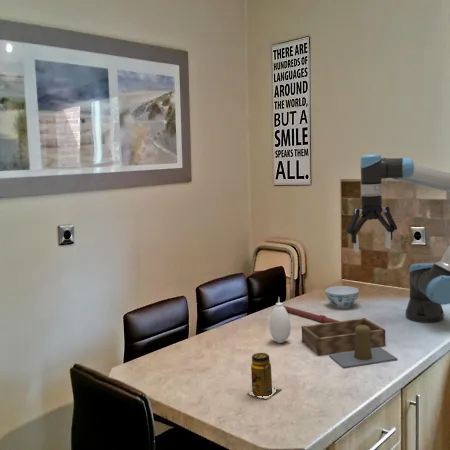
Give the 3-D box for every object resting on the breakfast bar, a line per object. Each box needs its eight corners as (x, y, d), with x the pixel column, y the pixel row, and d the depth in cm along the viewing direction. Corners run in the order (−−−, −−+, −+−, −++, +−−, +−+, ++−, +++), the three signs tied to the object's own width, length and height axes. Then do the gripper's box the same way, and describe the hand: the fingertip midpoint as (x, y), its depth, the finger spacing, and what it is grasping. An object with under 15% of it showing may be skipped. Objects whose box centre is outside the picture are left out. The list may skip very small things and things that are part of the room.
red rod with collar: (356, 330, 215) (356, 323, 215) (351, 332, 213) (351, 325, 213) (279, 308, 251) (278, 302, 250) (274, 310, 249) (274, 303, 248)
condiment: (246, 394, 163) (244, 356, 162) (262, 384, 170) (261, 348, 168) (265, 400, 158) (264, 361, 157) (282, 390, 165) (280, 352, 163)
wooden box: (365, 332, 211) (364, 318, 211) (385, 345, 197) (385, 330, 196) (302, 341, 205) (301, 326, 205) (318, 355, 191) (317, 339, 190)
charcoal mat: (380, 349, 194) (380, 347, 194) (397, 360, 183) (397, 358, 183) (329, 356, 189) (329, 355, 189) (343, 368, 178) (343, 366, 178)
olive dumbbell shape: (372, 360, 182) (372, 329, 181) (354, 359, 184) (353, 328, 182) (371, 353, 188) (371, 323, 187) (353, 353, 190) (353, 323, 188)
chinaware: (362, 310, 241) (362, 293, 240) (329, 311, 241) (328, 295, 240) (355, 301, 256) (354, 285, 254) (323, 302, 256) (322, 286, 255)
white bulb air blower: (295, 341, 206) (293, 295, 204) (282, 347, 200) (280, 300, 198) (278, 337, 211) (276, 292, 209) (266, 343, 206) (264, 297, 203)
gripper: (345, 198, 199) (347, 254, 202) (406, 193, 205) (406, 248, 207) (336, 196, 206) (338, 251, 209) (395, 192, 212) (396, 245, 215)
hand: (372, 249), depth 208 cm, fingers open, 13 cm apart
